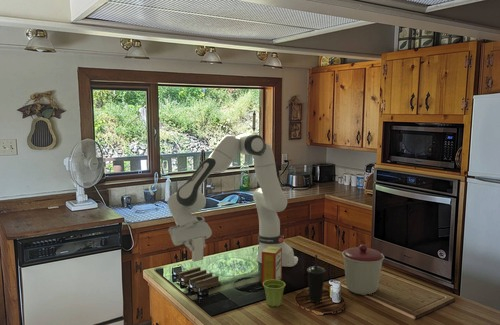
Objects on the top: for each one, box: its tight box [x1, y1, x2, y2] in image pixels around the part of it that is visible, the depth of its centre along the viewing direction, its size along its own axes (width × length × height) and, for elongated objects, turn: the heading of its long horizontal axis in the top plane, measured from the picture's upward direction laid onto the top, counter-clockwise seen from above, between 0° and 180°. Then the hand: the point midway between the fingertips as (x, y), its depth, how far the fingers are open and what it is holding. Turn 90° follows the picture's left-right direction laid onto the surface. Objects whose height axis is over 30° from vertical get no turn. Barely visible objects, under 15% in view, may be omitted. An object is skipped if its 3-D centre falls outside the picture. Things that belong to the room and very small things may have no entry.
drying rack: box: [175, 266, 222, 292], centre depth 193 cm, size 16×14×4 cm
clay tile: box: [191, 238, 204, 263], centre depth 192 cm, size 2×5×10 cm, turn 132°
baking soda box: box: [261, 246, 283, 285], centre depth 195 cm, size 10×6×16 cm
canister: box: [341, 243, 385, 296], centre depth 185 cm, size 18×18×21 cm
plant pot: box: [262, 279, 287, 308], centre depth 172 cm, size 9×9×9 cm
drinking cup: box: [306, 254, 326, 303], centre depth 174 cm, size 8×8×20 cm
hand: (198, 248), depth 191 cm, fingers closed on clay tile, 5 cm apart
